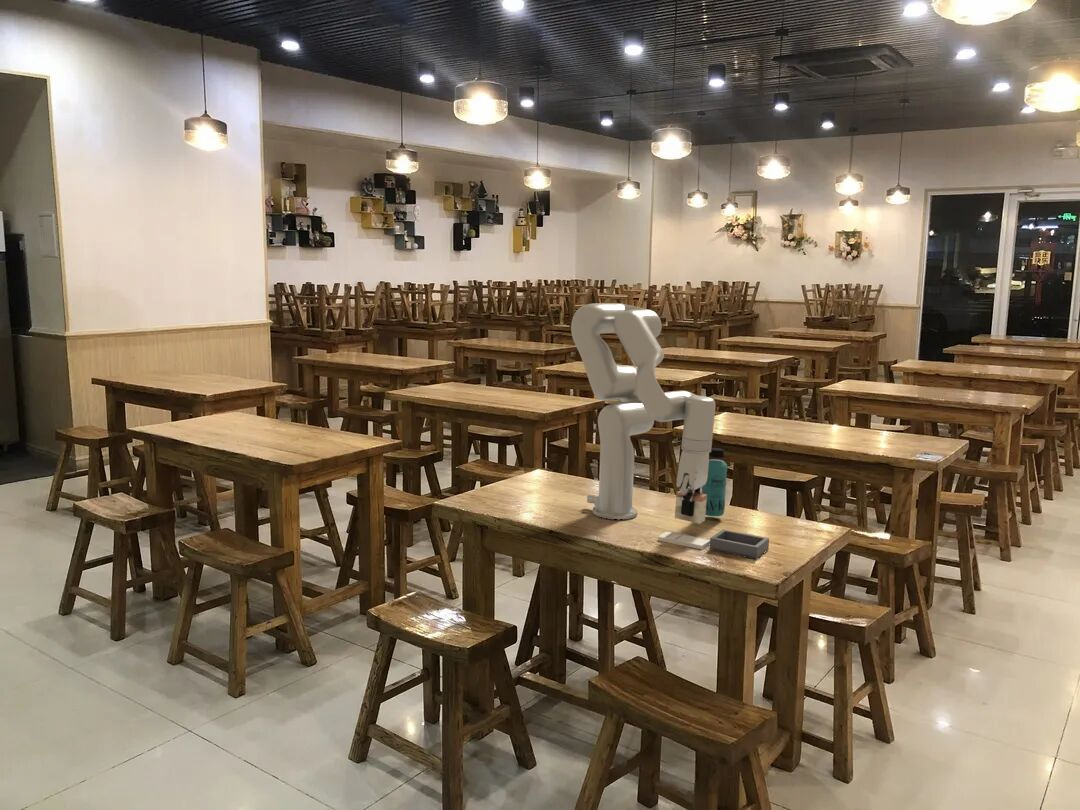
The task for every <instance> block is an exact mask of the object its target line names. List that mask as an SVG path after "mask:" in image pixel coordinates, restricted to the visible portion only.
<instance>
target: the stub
mask: <svg viewBox="0 0 1080 810" xmlns="http://www.w3.org/2000/svg"><path fill="white" fill-rule="evenodd" d="M680 491H681V489H680V490H678V491H675V492H676V494H675V497H676V498H675V509H674V519H675V520H676V519H678V520H681V521H685V522H690V523H695V524H702V523H703V522H705V521H706V515H705V514H706V502H707V494H703V492H702V493H698V492H694V499H693V501H695V503H694V513H693V516H687V515H682V514H681V507H682V494H681V493H680ZM688 492H689V493H690V495H691V492H690V491H688Z"/></svg>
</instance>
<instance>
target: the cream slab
mask: <svg viewBox="0 0 1080 810" xmlns="http://www.w3.org/2000/svg"><path fill="white" fill-rule="evenodd" d="M657 541H659V542H664V543H669V544H673V545H679V546H684V547H688V548H693V549H697V550H703V549H705V548H707V547H708V546H710V545H709V544H710V538H705V537H700V536H695V535H691V534H685V533H680V532H676V531H670V530H667V531H665V532H663V533H662V534H660V535H659V536H657Z"/></svg>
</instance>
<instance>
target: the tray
mask: <svg viewBox="0 0 1080 810" xmlns="http://www.w3.org/2000/svg"><path fill="white" fill-rule="evenodd" d="M709 539H710V545H709V550H710V551H715V552H718V551H719V552H718V553H723V552H724V554H728V553H730V554H729V555H733V554H735V555H734V556H738V555H740V556H739V557H743V556H745V557H744V558H747V557H749V558H748V559H752V558H755V559H754V560H758V559H759V558H760V557H762V556H763V555H764V554H765V553H766V552H767V550H768V551H769V548H770V547H769V546H770V538H769V537H766V536H761V535H754V534H748V533H745V532H739V531H734V530H729V529H722V530H720V531H719V532H717V533H715V534H714V535H712V536H711V537H710V538H709ZM765 551H766V552H765ZM764 552H765V553H764ZM763 553H764V554H763ZM762 554H763V555H762ZM761 555H762V556H761ZM757 558H758V559H757Z"/></svg>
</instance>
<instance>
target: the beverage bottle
mask: <svg viewBox="0 0 1080 810" xmlns="http://www.w3.org/2000/svg"><path fill="white" fill-rule="evenodd" d="M724 457H725V450H724V449H723V448H719V447H711V452H710V453H709V458H711V459H709V466H708V477H707V482H706V484H705V485H703V489H702V493H703V494H707V502H706V514H705V516H706V517H707V516H708V517H723V515H724V513H725V510H726V508H725V507H726V505H725V504H726V491H727V488H726V487H727V483H728V482H727V473H728V464H727V463H726V462H725V461H724V460H722V459H720V458H724ZM712 458H713V459H712ZM714 458H716V459H714ZM718 458H719V459H718Z"/></svg>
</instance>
